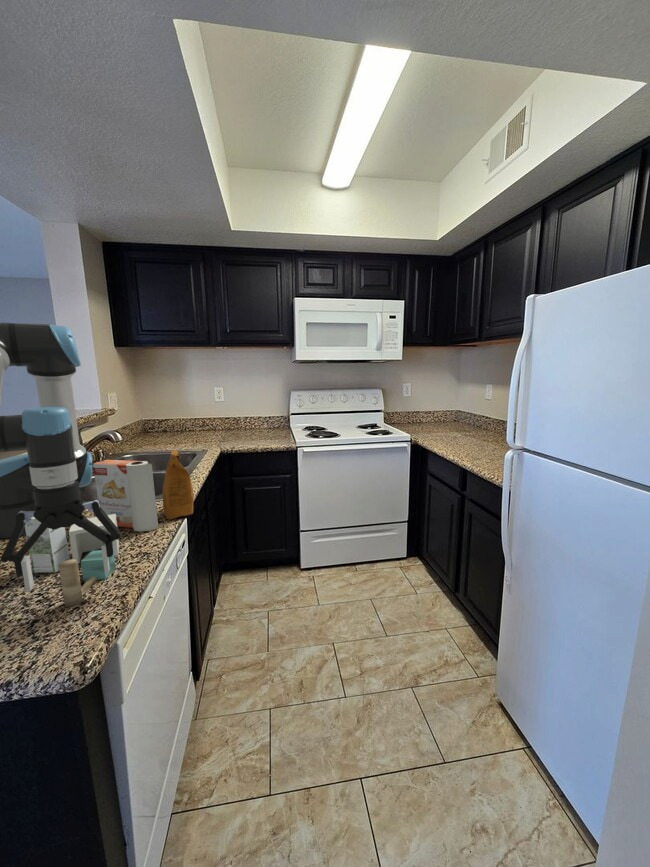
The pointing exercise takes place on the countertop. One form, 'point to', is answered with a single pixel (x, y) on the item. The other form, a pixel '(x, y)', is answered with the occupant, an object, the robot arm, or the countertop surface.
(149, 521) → the paper towel roll
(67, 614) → the countertop surface
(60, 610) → the countertop surface
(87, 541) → the cubby
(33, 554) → the syrup box
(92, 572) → the tethered block
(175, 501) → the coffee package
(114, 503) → the cracker box
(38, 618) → the countertop surface
